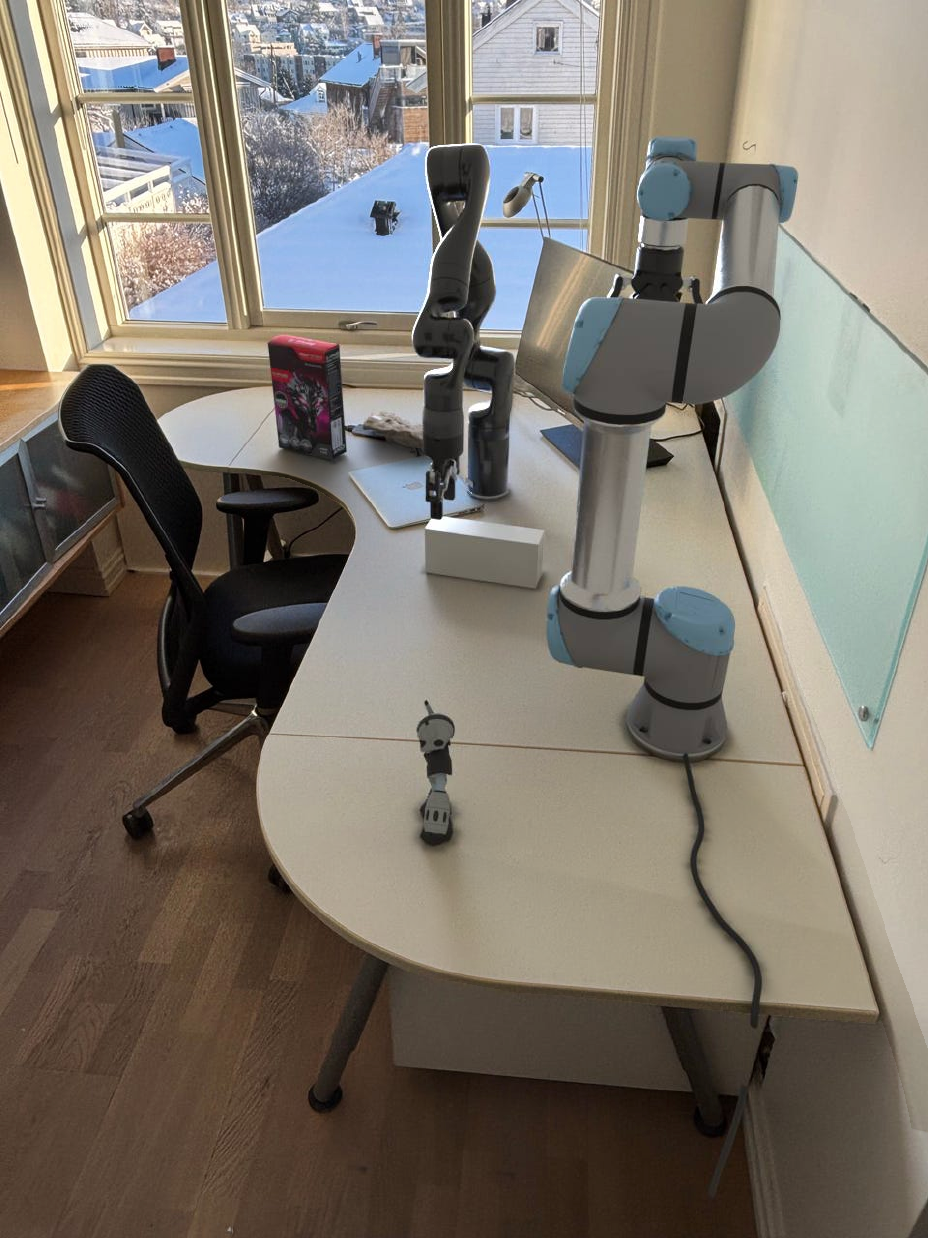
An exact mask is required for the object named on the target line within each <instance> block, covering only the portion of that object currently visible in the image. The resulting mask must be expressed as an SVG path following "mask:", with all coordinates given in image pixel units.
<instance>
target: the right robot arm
mask: <svg viewBox="0 0 928 1238" xmlns="http://www.w3.org/2000/svg"><path fill="white" fill-rule="evenodd" d="M698 148H699V146H698V142H697V140H695V138H691V137H685V136H657V137H654V138H652V139H651V140H650V141H649V143H648V147H647V155H646V157H645V170H644V171H643V173H642V174H641V176H640V178H639V180H638V185H637V191H636V195H637V196H636V199H637V203H638V206H639V209H640V210H641V211H640V222H639V228H638V229H639V230H638V239H637V241H638V242H639V245H638V246H637V247H636V257H635V265H634V272H633V275H632V276H627V275H622V274H621V273H616V274H615V275H614V278H613V284H612V287H611V289H610V291H609V292H608V294H607V295H606V297H605V296H603V297H601V296H594V297H590V298H587V299H586V300H585V301H584V302H583V303H582V304H581V306H580V307H579V309H578V312H577V314H576V317H575V320H574V324H573V327H572V331H571V334H570V338H569V343H568V346H567V351H566V354H565V359H564V360H565V361H564V366H563V370H562V376H561V390H562V392H564V393H566V394H567V395H569V396H571V395H573V401H572V402H573V403H572V408H573V411H574V413H575V414H576V415H577V416H578V417H579V418H580V419H581V420H582V421H583V427H582V442H581V451H580V453H581V454H580V463H579V477H578V488H577V502H576V514H575V526H574V538H573V549H572V550H573V551H572V563H571V570H570V571H568V572H567V573H566V574H564V575H563V576H562V578H561V580H560V582H559V584H558V585H554V586H553V587H552V588H551V590H550V593H549V596H548V601H547V606H546V607H547V608H546V616H547V617H546V622H545V623H546V625H545V626H546V627H545V628H546V631H545V632H546V642H547V648H548V652H549V654H550V656H551V658H552V659H553V660H554V661H556V662H557V663H559V664H564V665H568V666H573V667H574V668H577V669H582V668H585V669H591V670H596V671H604V672H610V673H617V674H622V675H629V676H637V677H641V678H642V677H643V682H642V684H641V685H640V688H639V689H638V691H637V692H636V694H635V695H634V697H633V699H632V701H631V702H630V704H629V706H628V708H627V711H626V719H625V728H626V732H627V734H628V736H629V738H630V739H631V741H632V742H634V744H636V745H637V746H638V747H639V748H640V749H641V750H643V751H645V752H646V753H648V754H650V755H651V756H654V757H656V758H659V759H662V760H666V761H670V762H675V763H684V767H685V768H684V769H685V772H686V777H687V778H686V779H687V782H688V787H689V791H690V795H691V799H692V802H693V806H694V808H695V813H696V816H697V826H698V827H697V828H698V829H697V833H696V838H695V841H694V843H693V845H692V849H691V853H690V862H689V863H690V870H691V875H692V879H693V882H694V885H695V887H696V889H697V892H698V893H699V895H700V897H701V899H702V900H703V902H704V904H705V905H706V907H707V909H708V910H709V912H710V914H711V915H712V917H713V918H714V920H715V921H716V922H717V924H718V925H719V926H720V927H721V928H722V929H723V931H725V932H726V934H728V936H729V937H731V939H732V940H733V941H734V942H735V943H736V944H737V945H738V946H739V947H740V949H742V951H743V952H744V953H745V955H746V957H747V958H748V961H749V962H750V965H751V967H752V970H753V975H754V986H753V993H752V999H751V1007H750V1019H749V1020H750V1022H749V1023H750V1027H751V1028H752V1029H754V1030H756V1029H758V1027H759V1009H760V1002H761V996H762V988H763V978H762V971H761V968H760V965H759V962H758V960H757V958H756V957H757V956H756V955H755V953H754V952H753V950H752V949H751V947H750V946H749V945H748V944H747V943H746V941H745V940H744V939H743V938H742V937H741V935H739V934H738V932H737V931H736V930H734V929H733V928H732V927H731V926H730V925H729V924H728V923H727V922H726V920H725V919H724V918H723V917H722V915H721V914H720V912H719V911H718V909H717V908H716V906H715V905H714V903H713V901H712V900H711V897H709V895H708V893H707V891H706V889H705V887H704V885H703V882H702V881H701V878H700V875H699V871H698V863H697V859H698V853H699V850H700V847H701V845H702V842H703V839H704V834H705V819H704V813H703V810H702V807H701V804H700V800H699V797H698V793H697V789H696V786H695V781H694V776H693V772H692V771H693V770H692V766H691V763H694V762H700V761H703V760H706V759H709V758H711V757H714V755H716V754H718V752H720V751H721V750H722V748H723V747H724V744H725V743H726V740H727V739H726V738H727V734H728V721H727V716H726V712H725V708H724V707H725V706H724V701H723V692H724V686H725V682H726V678H727V677H726V676H727V672H728V666H729V661H730V657H731V652H732V651H733V649H734V646H735V638H734V637H735V631H736V620H735V616H734V614H733V612H732V610H731V609H730V607H729V606H728V605H727V604H726V603H724V602H723V601H722V600H721V599H720V598H719V597H717V596H716V595H714V594H712V593H710V592H708V591H706V590H704V589H703V590H702V589H700V588H697V587H696V588H695V587H692V586H684V585H675V586H673V587H666V588H664V589H662V590H661V591H659V592H658V593H657V595H656V596H655V598H652V597H645V596H641V595H642V588H641V584H640V582H639V581H638V580H637V578H635V577H634V576H633V573H634V566H635V558H636V549H637V541H638V534H639V526H640V517H641V511H642V510H641V509H642V503H643V495H644V486H645V479H646V478H645V477H646V470H647V462H648V454H649V446H650V440H651V432H652V426H653V425H655V424H656V423H658V422H659V421H660V420H662V418H664V416H665V414H666V410H667V403H668V404H681V405H682V404H683V405H702V404H703V405H704V404H708V403H713V402H716V401H718V400H721V399H724V398H726V397H728V396H730V395H732V394H734V393H735V392H737V391H738V390H739V389H742V388H743V387H744V386H745V385H747V384H748V383H749V382H750V381H751V380H752V379H754V377H756V375H757V374H758V373H760V371H761V370H762V369H763V368H764V367H765V365H766V364H767V362H768V361H769V360H770V358H771V356H772V354H773V352H774V351H775V348H777V347H776V346H777V344H778V341H779V337H780V332H781V321H782V315H781V313H782V312H781V309H780V305H779V303H778V301H777V299H776V298H775V297H774V296H775V295H774V294H775V283H776V282H775V280H776V267H777V254H778V253H777V252H778V251H777V250H778V237H779V225H780V224H785V223H786V222H788V221H789V220H790V219H791V217H792V214H793V210H794V205H795V202H796V201H795V200H796V195H797V190H798V181H799V180H798V179H799V173H798V170H797V169H796V167H794V166H789V165H779V164H775V163H767V164H766V163H738V162H737V163H736V162H735V163H734V162H715V161H698ZM689 219H697V220H717V221H722V222H721V230H720V238H719V244H718V251H717V259H716V265H715V271H714V279H713V285H712V294H711V296H710V298H708V300H707V301H706V302H705V303H704V302H703V298H702V296H701V293H700V292H701V291H700V290H701V281H700V279H699V277H698V276H697V275H695V274H694V275H692V276H691V277H682V270H683V264H684V263H683V262H684V256H685V249H684V247H683V246H684V245H685V244H686V241H687V232H688V225H689ZM628 286H631V288H632V289H633V291H634V292H633V293H632V294H631V295H630V296H629V297H624V296H623V295H621V292H622V291H624V290H626V288H627V287H628ZM683 287H685V290H686V291H687V292H688V293H690V295H691V298H692V301H693V302H692V303H691V302H680V300H679V298H678V297H677V296H676V295H677V294H678V293H679V292H680V290H681V289H682V288H683ZM748 1092H749V1086H747V1085H744V1084H741V1085H740V1089H739V1094H738V1099H737V1102H736V1106H735V1110H734V1113H733V1117H732V1120H731V1124H730V1127H729V1129H728V1132H727V1136H726V1138H725V1141H724V1144H723V1148H722V1149H721V1153H720V1156H719V1158H718V1162H717V1164H716V1167H715V1170H714V1173H713V1176H712V1179H711V1183H710V1186H709V1189H708V1192H707V1194H708V1196H709V1197H710V1198H714V1197H715V1195H716V1192H717V1188H718V1185H719V1181H720V1178H721V1176H722V1172H723V1170H724V1167H725V1164H726V1161H727V1159H728V1156H729V1154H730V1151H731V1148H732V1145H733V1143H734V1139H735V1137H736V1134H737V1131H738V1128H739V1125H740V1121H741V1119H742V1116H743V1111H744V1108H745V1104H746V1100H747V1095H748Z"/></svg>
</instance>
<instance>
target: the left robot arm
mask: <svg viewBox="0 0 928 1238" xmlns="http://www.w3.org/2000/svg"><path fill="white" fill-rule="evenodd" d="M424 165H425V176H426V177H425V179H426V184H427V190H428V194H429V198H430V201H431V205H432V209H433V213H434V216H435V217H434V218H435V221H436V224H437V228H438V232H439V237H440V242H439V243H438V245H437V247H436V249H435V252H434V253H433V256H432V258H431V262H430V263H431V264H430V271H429V279H428V286H427V293H426V297H425V300H424V303H423V306H422V308H421V310H420V312H419V315H418V316H417V319H416V321H415V324H414V326H413V329H412V334H411V344H412V348H413V350H414V352H415V354H416V355H417V356H418V357H420V358H422V359H429V360H430V359H432V360H450V361H452V362H451V364H450V365H449V366H445V367H442V368H436V369H433V370H430V371H428V372H426V373H425V375H424V377H423V385H422V386H423V387H422V389H423V408H422V409H423V410H422V422H421V423H422V424H421V425H423V449H422V452H423V454H424V455H425V456H426V457H428V458H430V460H431V461H432V463H430V466H429V470H426V472H425V497H424V498H425V502H427V503H429V505H430V508H429V511H430V512H429V513H430V514H429V517H430V519H436V520H441V519H442V517H444V516H443V515H444V512H443V511H444V509H443V508H444V503H443V502H444V500H445V501H454V500H455V499H456V482H457V480H458V476H459V475H460V472H461V470H460V457H461V456H462V455H463V453H464V442H465V441H464V439H465V438H464V437H465V434H464V433H465V432H464V431H465V428H464V427H465V416H464V406H463V405H464V403H463V402H464V400H463V397H464V386H465V387H466V388H468V389H471V390H474V391H480V392H484V393H490V399H489V400H485V401H480V402H477V403H474V404H473V405H471V406H470V407H469V409H468V412H467V477H465V483H466V484H467V485H466V488H467V487H468V490H469V491H470V492H472V494H471V493H470V492H469V491H468V490H467V489H466V493H467V495H468V496H469V497H470V498H473V499H475V500H479V501H496V500H500V499H503V498H505V497H506V496H507V495H508V493H509V486H508V483H509V463H510V461H509V460H510V436H511V435H510V433H511V432H510V430H511V415H512V408H513V403H514V401H513V400H514V387H515V378H516V377H515V376H516V360H515V356H514V354H513V353H512V352H511V351H510V350H508V349H503V348H498V347H497V348H496V347H491V346H486V345H483V344H482V340H481V334H480V331H481V327H482V324H483V322H484V320H485V319H486V317H487V315H488V314H489V312H490V310H491V308H492V306H493V305H494V302H495V300H496V295H497V284H496V277H495V271H494V264H493V259H492V258H491V256H490V254H489V253H488V251H487V249H486V248H485V247H484V245H482V243H481V241H479V240H478V236H479V232H480V228H481V226H482V222H483V216H484V213H485V210H486V205H487V200H488V196H489V192H490V186H491V185H490V184H491V163H490V157H489V153H488V151H487V149H486V147H485V146H484V145H483V144H480V143H462V144H461V143H460V144H445V145H437V146H433V147H431V148H429V150H428V151H427V152H426V156H425V164H424ZM456 203H464V205H463V207H462V210H461V211H460V213H459V211H458V209H457V206H456ZM450 313H453V316H452V317H451V316H443V315H446V314H450ZM434 493H435V494H434Z"/></svg>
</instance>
